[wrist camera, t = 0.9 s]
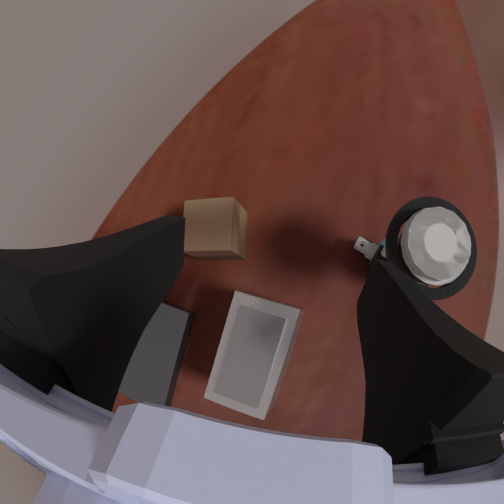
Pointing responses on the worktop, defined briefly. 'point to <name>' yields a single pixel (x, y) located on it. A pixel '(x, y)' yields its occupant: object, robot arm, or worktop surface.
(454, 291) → the push button
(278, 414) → the worktop surface
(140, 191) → the worktop surface
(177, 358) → the stand
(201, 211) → the tan cube
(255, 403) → the block
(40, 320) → the robot arm
